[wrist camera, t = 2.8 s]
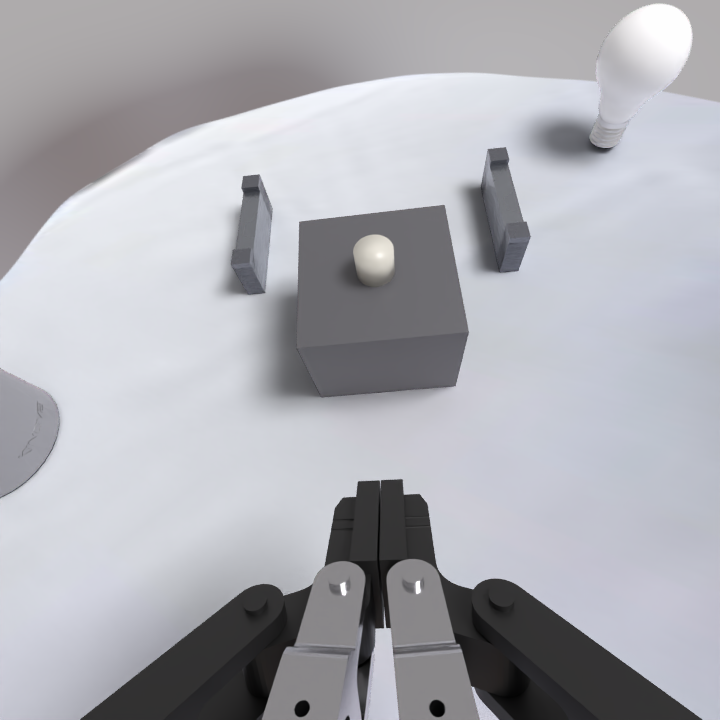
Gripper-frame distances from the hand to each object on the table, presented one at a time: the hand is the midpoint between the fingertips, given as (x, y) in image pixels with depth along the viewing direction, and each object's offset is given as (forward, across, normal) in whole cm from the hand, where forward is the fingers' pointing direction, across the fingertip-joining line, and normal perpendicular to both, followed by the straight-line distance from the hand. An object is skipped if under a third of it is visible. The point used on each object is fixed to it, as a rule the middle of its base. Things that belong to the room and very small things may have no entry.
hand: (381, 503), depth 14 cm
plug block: (+21, 0, 0) cm, 21 cm away
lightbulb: (+34, -22, -14) cm, 43 cm away
